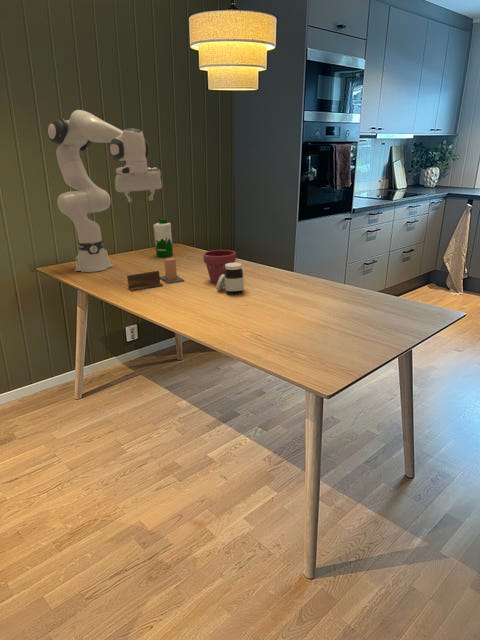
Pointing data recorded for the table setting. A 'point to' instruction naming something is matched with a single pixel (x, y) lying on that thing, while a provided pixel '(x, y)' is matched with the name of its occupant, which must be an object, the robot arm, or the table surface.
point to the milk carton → (163, 238)
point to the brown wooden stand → (144, 281)
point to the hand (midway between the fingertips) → (140, 201)
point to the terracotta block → (170, 268)
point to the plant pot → (218, 262)
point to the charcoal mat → (171, 280)
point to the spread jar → (232, 279)
